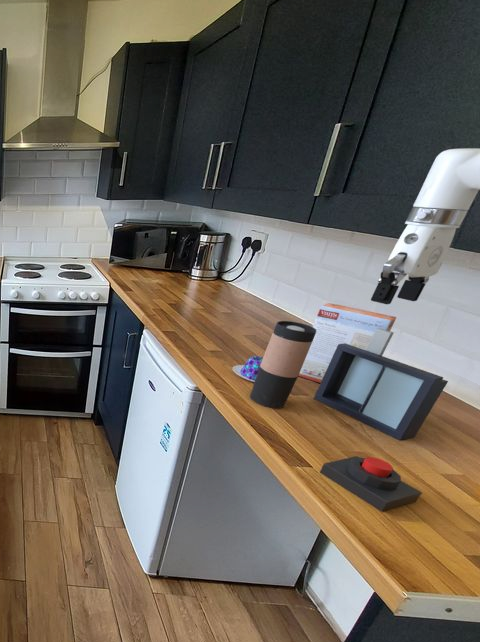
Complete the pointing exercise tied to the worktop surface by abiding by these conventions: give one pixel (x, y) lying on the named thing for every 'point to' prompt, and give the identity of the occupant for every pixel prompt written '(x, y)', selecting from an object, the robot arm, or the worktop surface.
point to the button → (377, 467)
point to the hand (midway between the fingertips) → (393, 300)
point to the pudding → (249, 368)
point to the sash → (362, 371)
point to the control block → (370, 484)
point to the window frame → (385, 393)
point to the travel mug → (282, 363)
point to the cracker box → (340, 335)
